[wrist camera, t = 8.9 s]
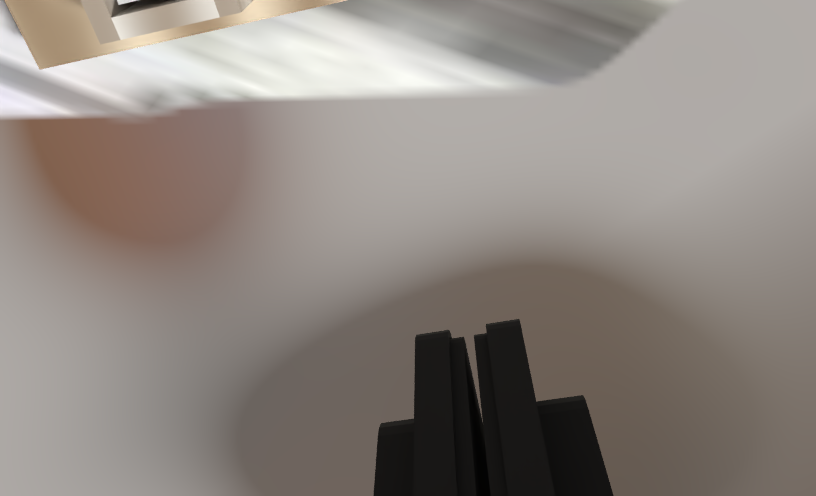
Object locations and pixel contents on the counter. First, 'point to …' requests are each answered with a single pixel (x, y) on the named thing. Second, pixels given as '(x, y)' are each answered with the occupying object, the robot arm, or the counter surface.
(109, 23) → the key panel
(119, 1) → the pale grey key
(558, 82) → the counter surface
